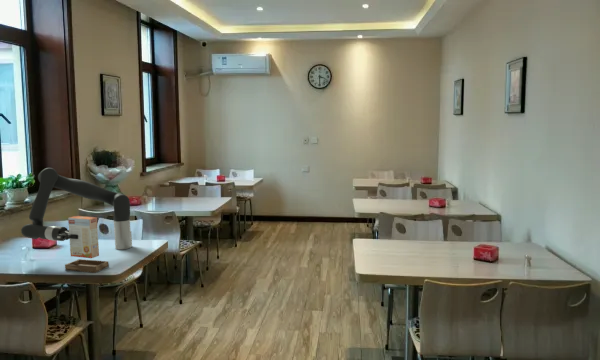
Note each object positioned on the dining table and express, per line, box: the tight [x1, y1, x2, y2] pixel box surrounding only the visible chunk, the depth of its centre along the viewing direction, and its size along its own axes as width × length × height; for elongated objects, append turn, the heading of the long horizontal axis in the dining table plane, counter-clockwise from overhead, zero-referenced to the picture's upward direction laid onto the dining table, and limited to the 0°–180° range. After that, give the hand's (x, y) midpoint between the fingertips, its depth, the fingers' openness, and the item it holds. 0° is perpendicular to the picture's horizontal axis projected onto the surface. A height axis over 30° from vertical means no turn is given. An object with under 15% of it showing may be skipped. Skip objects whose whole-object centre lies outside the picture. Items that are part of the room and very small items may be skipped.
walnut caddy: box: [64, 258, 109, 274], centre depth 265 cm, size 11×19×3 cm, turn 73°
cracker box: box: [67, 215, 100, 259], centre depth 264 cm, size 14×6×21 cm, turn 70°
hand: (82, 235), depth 264 cm, fingers closed on cracker box, 6 cm apart
